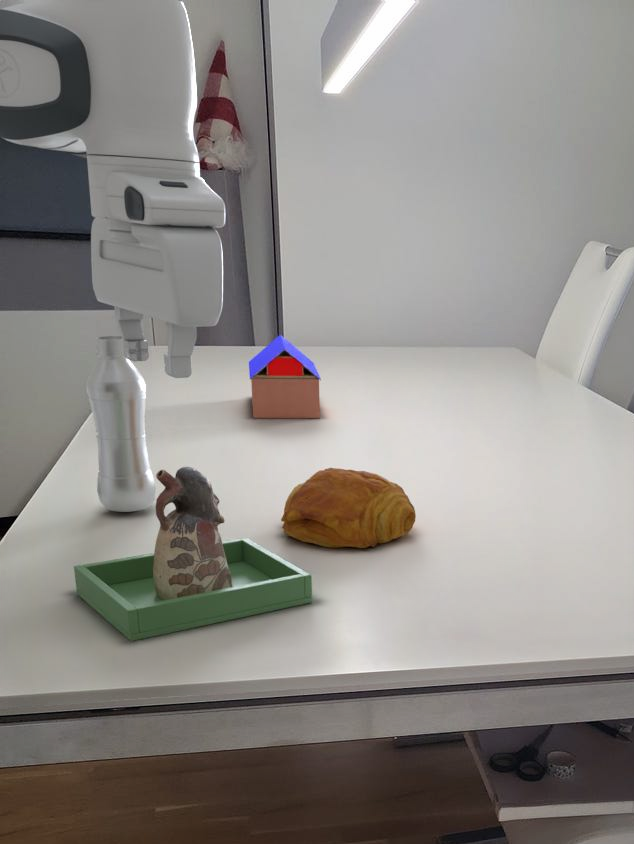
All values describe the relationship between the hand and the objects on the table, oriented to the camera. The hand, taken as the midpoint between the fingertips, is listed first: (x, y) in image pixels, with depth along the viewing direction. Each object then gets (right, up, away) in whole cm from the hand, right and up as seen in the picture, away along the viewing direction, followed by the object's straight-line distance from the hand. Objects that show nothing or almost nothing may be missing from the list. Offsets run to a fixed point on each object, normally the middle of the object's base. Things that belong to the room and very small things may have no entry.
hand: (156, 368), depth 91 cm
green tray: (+1, -20, +7) cm, 21 cm away
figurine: (+1, -20, +7) cm, 21 cm away
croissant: (+13, -12, +28) cm, 33 cm away
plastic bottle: (-14, -9, +33) cm, 37 cm away
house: (-7, +18, +97) cm, 99 cm away
